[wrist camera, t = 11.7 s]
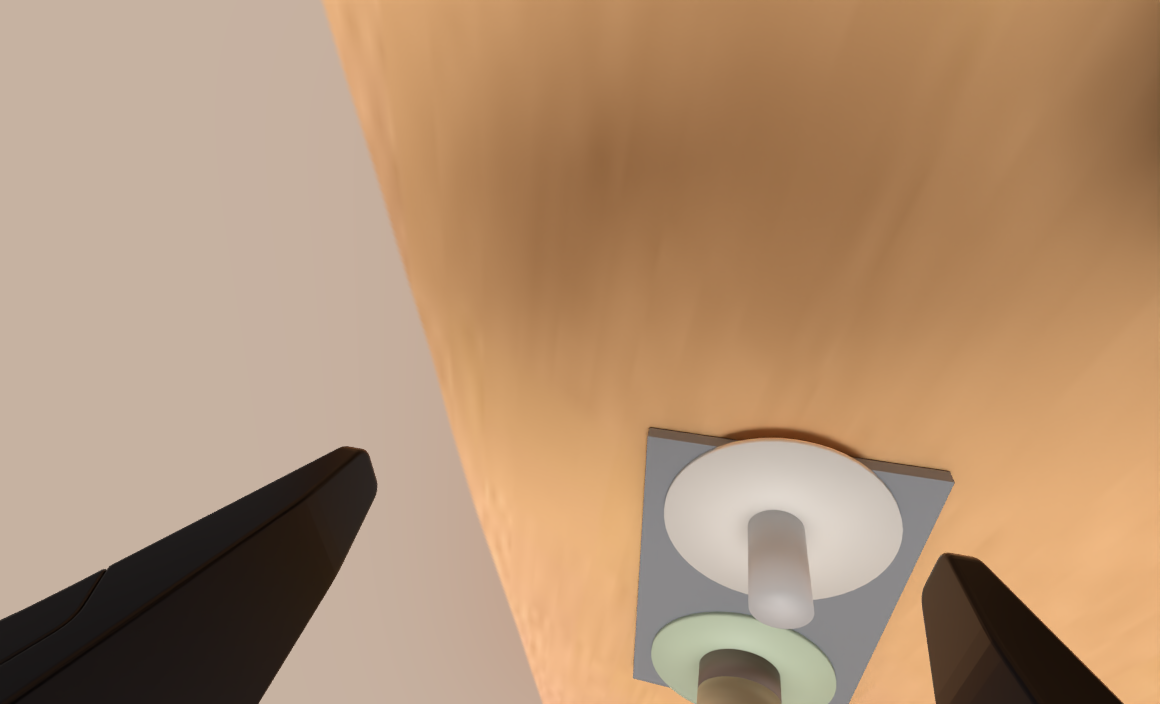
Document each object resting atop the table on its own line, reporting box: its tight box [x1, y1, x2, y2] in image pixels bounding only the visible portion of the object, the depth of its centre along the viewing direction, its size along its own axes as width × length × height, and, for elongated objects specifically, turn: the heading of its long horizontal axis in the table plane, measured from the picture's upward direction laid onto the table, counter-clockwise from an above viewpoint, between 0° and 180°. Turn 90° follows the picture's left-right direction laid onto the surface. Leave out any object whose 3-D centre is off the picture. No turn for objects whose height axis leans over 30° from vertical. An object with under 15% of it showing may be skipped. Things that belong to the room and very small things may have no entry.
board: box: [633, 428, 955, 704], centre depth 26 cm, size 12×22×5 cm, turn 1°
